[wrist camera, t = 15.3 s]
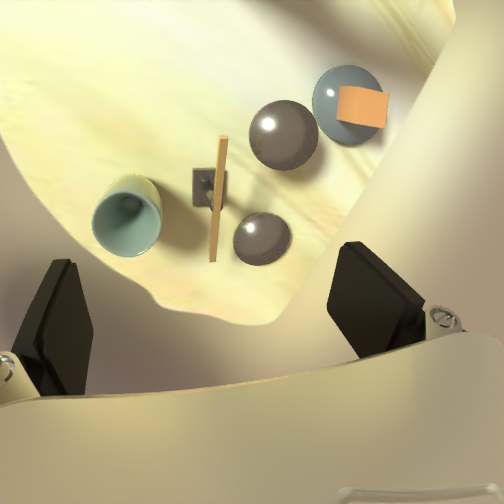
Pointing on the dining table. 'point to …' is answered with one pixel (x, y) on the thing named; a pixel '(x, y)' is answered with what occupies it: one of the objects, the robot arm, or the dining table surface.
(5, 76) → the dining table surface
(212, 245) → the balance
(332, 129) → the dish
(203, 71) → the dining table surface
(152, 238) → the cup
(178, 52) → the dining table surface
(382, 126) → the block
